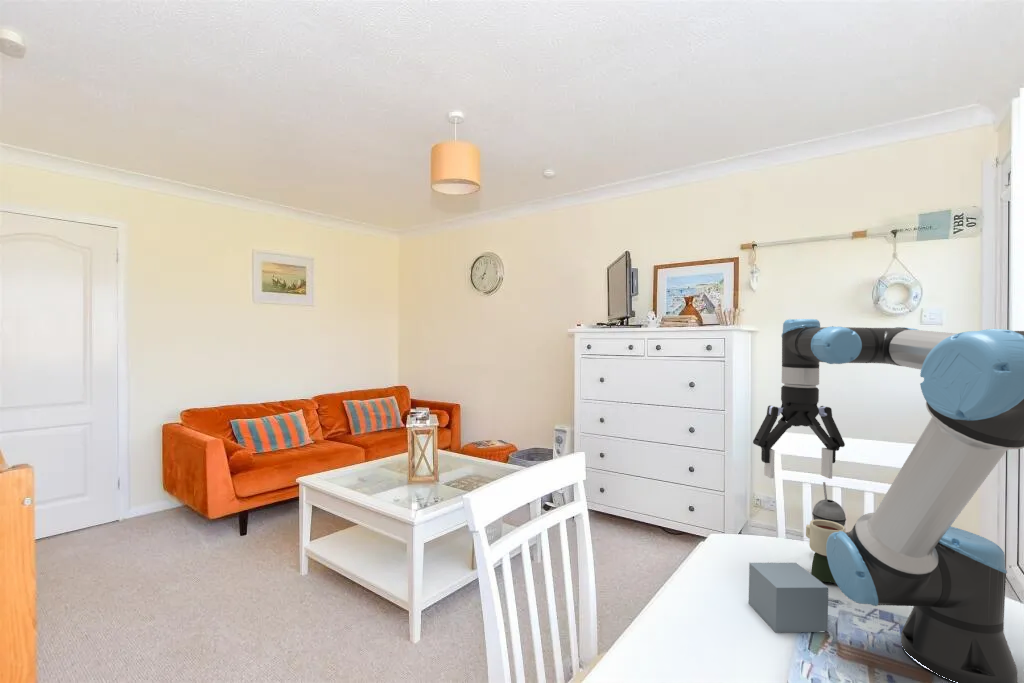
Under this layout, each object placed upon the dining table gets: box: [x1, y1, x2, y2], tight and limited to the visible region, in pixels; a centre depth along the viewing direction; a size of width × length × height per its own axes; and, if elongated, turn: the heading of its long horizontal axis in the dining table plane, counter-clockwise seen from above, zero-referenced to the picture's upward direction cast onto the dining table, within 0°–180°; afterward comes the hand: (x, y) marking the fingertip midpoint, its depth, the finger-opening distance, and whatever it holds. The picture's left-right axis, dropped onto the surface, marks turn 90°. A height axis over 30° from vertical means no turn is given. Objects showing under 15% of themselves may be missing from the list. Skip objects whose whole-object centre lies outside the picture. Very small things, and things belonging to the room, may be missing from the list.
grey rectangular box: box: [748, 562, 829, 634], centre depth 99 cm, size 10×10×9 cm
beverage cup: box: [812, 481, 847, 527], centre depth 124 cm, size 7×7×20 cm
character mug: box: [805, 519, 846, 584], centre depth 115 cm, size 11×7×13 cm, turn 19°
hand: (797, 476), depth 113 cm, fingers open, 13 cm apart
